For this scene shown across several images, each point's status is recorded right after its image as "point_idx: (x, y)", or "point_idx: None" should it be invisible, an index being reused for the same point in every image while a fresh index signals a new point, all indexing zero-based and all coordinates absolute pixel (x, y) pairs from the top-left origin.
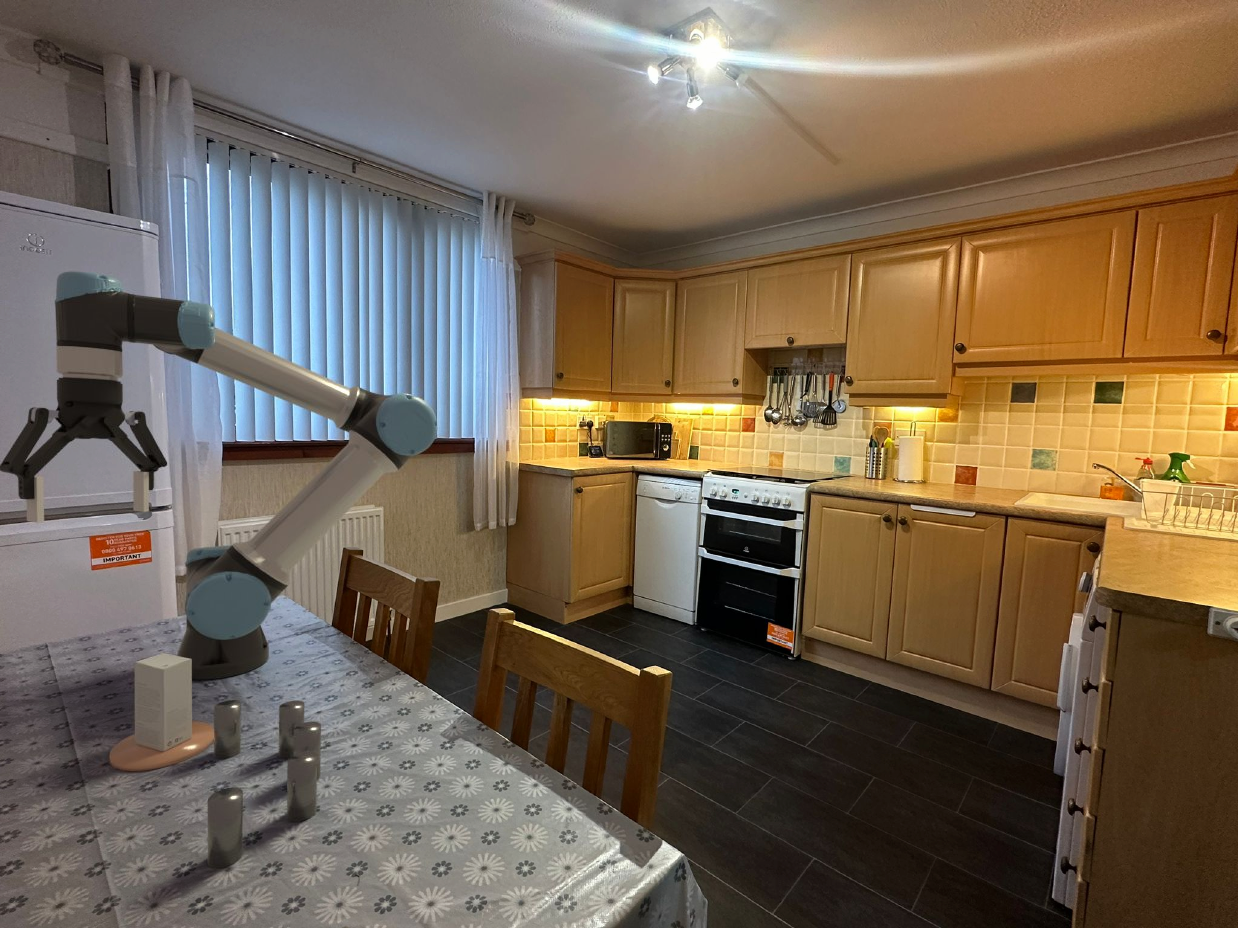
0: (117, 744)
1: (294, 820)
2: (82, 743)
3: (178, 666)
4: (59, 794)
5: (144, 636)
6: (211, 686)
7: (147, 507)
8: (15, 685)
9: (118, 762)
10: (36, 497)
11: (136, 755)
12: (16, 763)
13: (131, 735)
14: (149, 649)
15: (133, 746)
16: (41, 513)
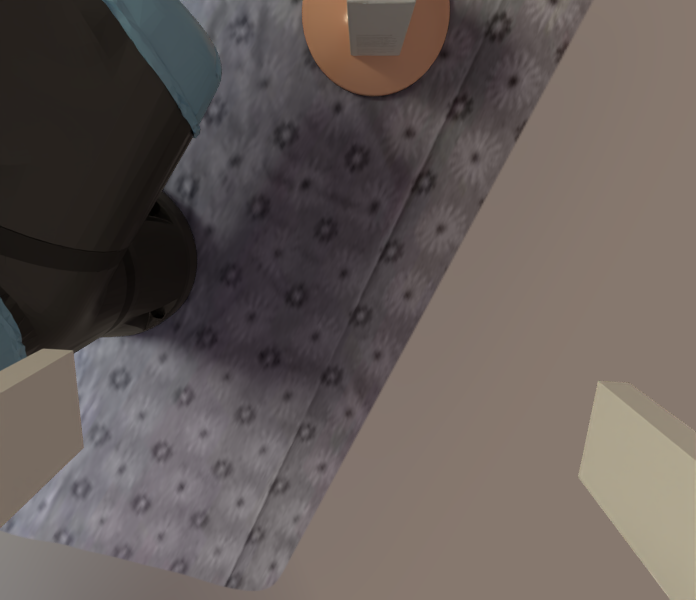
0: (410, 82)
1: None
2: (415, 160)
3: None
4: (522, 24)
5: (119, 502)
6: (192, 176)
7: (31, 360)
8: (336, 461)
9: (448, 15)
10: None
11: (423, 10)
12: (486, 184)
13: (382, 93)
14: (150, 436)
15: (405, 49)
16: (640, 408)
